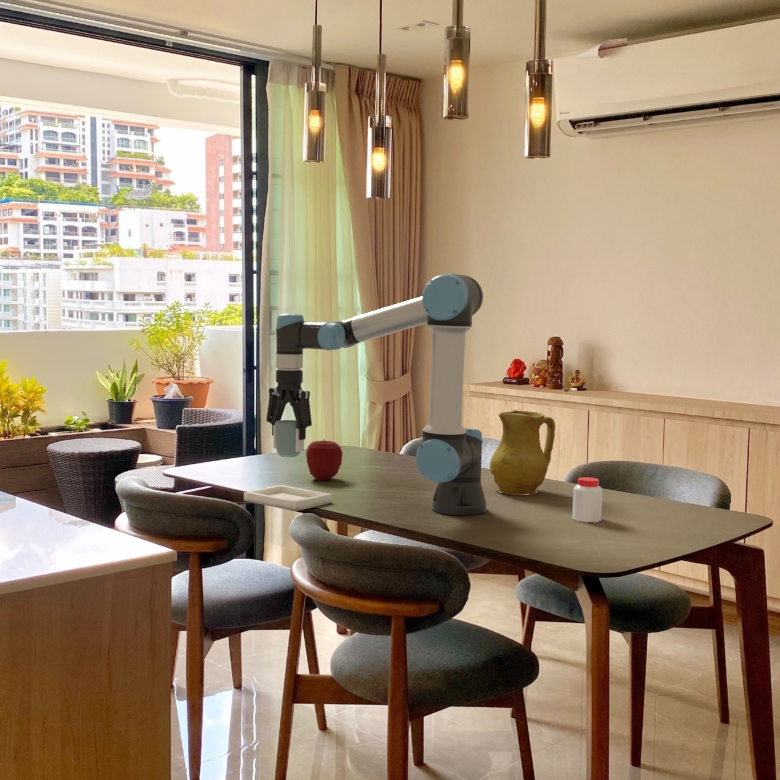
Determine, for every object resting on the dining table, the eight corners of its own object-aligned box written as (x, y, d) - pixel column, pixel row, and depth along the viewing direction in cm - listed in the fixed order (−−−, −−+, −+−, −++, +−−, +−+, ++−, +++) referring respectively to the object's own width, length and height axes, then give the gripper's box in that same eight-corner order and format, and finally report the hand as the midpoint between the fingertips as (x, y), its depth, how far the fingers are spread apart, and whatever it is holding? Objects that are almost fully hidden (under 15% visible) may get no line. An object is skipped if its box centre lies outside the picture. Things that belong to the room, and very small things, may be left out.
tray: (331, 502, 278) (331, 494, 278) (295, 511, 267) (295, 502, 266) (280, 493, 291) (280, 484, 290) (243, 500, 279) (244, 492, 278)
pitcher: (490, 483, 310) (497, 405, 307) (550, 490, 306) (557, 411, 303) (484, 495, 293) (491, 413, 290) (547, 502, 290) (554, 419, 286)
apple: (333, 484, 306) (334, 441, 305) (299, 481, 310) (300, 439, 308) (347, 477, 317) (348, 436, 316) (314, 474, 321) (315, 434, 320)
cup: (297, 459, 273) (298, 423, 272) (271, 458, 274) (271, 422, 273) (305, 455, 280) (306, 420, 279) (279, 454, 282) (280, 419, 281)
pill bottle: (595, 524, 259) (597, 482, 258) (567, 519, 263) (569, 479, 262) (605, 518, 266) (607, 478, 264) (578, 514, 270) (580, 475, 269)
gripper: (326, 370, 272) (324, 452, 274) (272, 366, 284) (271, 444, 286) (307, 372, 266) (306, 455, 268) (253, 367, 278) (252, 446, 280)
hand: (288, 449), depth 277 cm, fingers closed on cup, 8 cm apart
